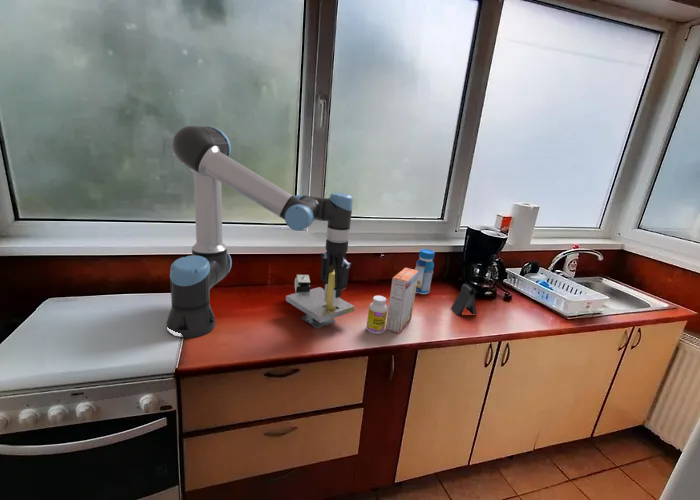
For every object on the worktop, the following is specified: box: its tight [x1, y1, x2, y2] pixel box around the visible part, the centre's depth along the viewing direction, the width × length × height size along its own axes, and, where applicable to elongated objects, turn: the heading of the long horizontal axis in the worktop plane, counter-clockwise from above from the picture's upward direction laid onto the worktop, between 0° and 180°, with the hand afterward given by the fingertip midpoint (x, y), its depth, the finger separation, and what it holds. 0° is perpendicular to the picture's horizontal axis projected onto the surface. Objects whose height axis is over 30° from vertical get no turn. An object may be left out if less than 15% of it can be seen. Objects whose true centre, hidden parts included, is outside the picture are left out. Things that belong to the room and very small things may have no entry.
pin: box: [326, 271, 336, 311], centre depth 133 cm, size 4×4×14 cm
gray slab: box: [285, 286, 355, 330], centre depth 140 cm, size 16×20×8 cm
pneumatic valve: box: [294, 273, 311, 293], centre depth 151 cm, size 6×12×12 cm, turn 12°
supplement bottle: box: [366, 295, 389, 335], centre depth 137 cm, size 7×7×13 cm
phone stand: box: [450, 283, 478, 316], centre depth 160 cm, size 9×6×12 cm, turn 103°
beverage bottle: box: [414, 248, 436, 295], centre depth 176 cm, size 8×8×20 cm
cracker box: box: [385, 267, 419, 334], centre depth 142 cm, size 14×6×21 cm, turn 152°
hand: (331, 302), depth 134 cm, fingers closed on pin, 3 cm apart
